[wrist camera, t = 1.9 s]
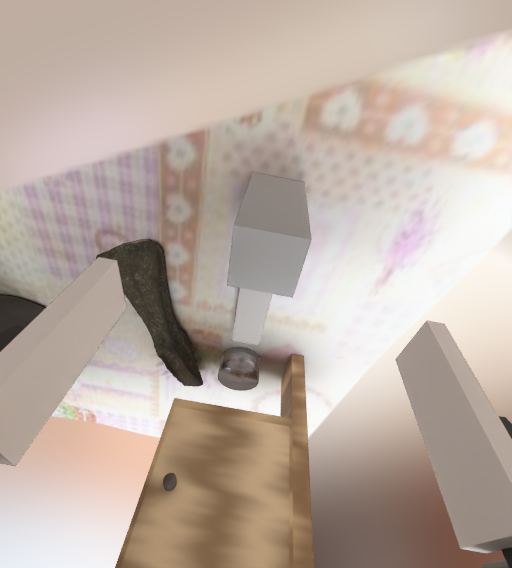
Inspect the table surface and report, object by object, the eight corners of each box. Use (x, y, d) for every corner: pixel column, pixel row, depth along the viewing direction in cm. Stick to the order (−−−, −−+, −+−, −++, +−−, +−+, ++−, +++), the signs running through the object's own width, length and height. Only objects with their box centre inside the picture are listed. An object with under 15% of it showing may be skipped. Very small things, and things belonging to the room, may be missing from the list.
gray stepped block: (231, 323, 31) (214, 396, 24) (252, 172, 21) (233, 225, 14) (265, 329, 32) (258, 404, 24) (304, 182, 21) (311, 239, 14)
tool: (100, 243, 28) (78, 256, 26) (163, 231, 26) (146, 245, 24) (177, 376, 39) (167, 395, 36) (227, 376, 36) (220, 397, 34)
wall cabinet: (195, 364, 37) (114, 618, 20) (196, 330, 33) (92, 618, 16) (292, 382, 38) (294, 647, 20) (306, 350, 33) (324, 655, 16)
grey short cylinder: (221, 366, 37) (216, 386, 35) (224, 343, 34) (219, 363, 32) (257, 372, 37) (255, 393, 35) (263, 350, 34) (261, 371, 32)
